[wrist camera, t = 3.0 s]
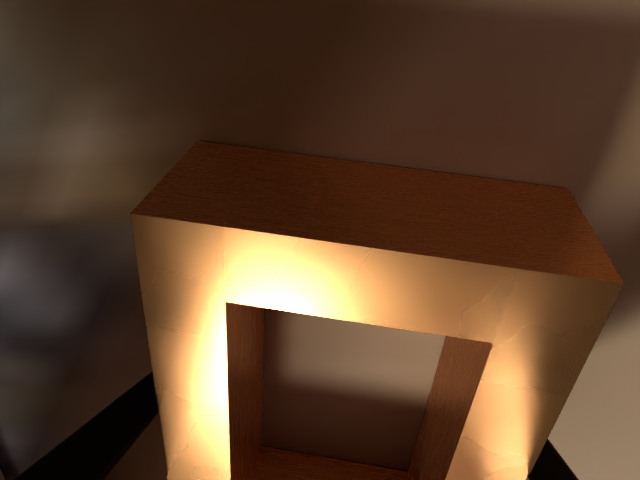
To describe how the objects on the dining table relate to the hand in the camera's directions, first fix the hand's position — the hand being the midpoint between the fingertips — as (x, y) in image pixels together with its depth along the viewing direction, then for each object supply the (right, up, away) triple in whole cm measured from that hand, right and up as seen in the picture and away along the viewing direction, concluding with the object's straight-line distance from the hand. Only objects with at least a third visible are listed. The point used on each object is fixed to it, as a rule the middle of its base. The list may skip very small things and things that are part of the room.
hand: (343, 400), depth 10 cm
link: (0, +1, +1) cm, 1 cm away
